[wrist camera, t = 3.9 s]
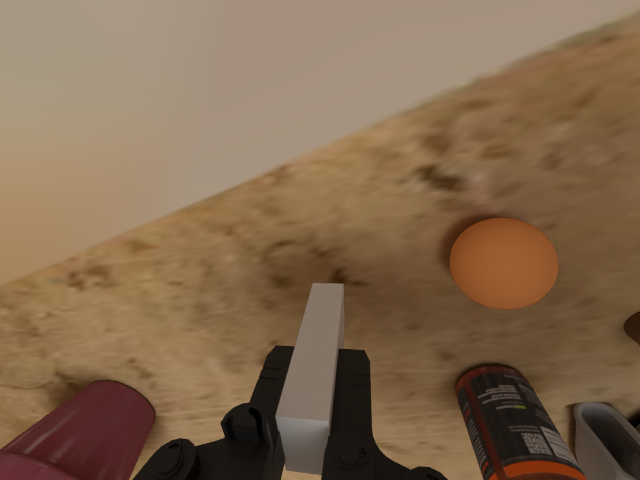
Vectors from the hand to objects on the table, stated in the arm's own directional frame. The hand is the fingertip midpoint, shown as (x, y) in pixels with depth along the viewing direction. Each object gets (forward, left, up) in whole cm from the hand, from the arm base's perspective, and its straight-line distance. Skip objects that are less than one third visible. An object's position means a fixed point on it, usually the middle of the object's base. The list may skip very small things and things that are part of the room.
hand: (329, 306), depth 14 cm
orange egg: (-10, 0, -5) cm, 11 cm away
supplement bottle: (-13, +14, -8) cm, 21 cm away
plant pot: (+28, +23, -8) cm, 37 cm away
